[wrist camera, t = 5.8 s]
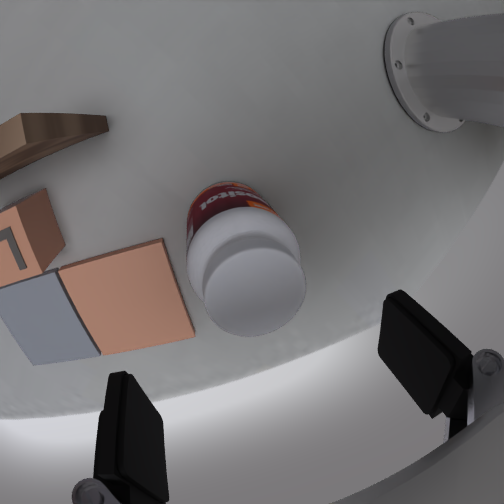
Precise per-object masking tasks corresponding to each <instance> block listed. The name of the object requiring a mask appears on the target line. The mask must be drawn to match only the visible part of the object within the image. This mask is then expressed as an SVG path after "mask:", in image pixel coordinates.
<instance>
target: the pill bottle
mask: <svg viewBox="0 0 504 504" xmlns="http://www.w3.org/2000/svg"><path fill="white" fill-rule="evenodd" d="M186 256H187V259H186V260H187V273H188V278H189V281H190V284H191V286H192V288H193V290H194V291H195V293H196V294H197V296H198V297H199V298H200V299H201V300H202V301H203V302H204V303H205V307H206V310H207V312H208V315H209V316H210V318H211V319H212V321H213V322H214V323H215V324H216V325H217V326H218V327H220V328H221V329H223V330H224V331H226V332H228V333H231V334H234V335H238V336H247V337H250V336H260V335H264V334H267V333H270V332H272V331H275V330H277V329H278V328H280V327H282V326H283V325H285V324H286V323H287V322H288V321H289V320H291V319H292V317H293V316H294V315H295V314H296V313H297V311H298V310H299V308H300V307H301V305H302V302H303V300H304V297H305V293H306V279H305V275H304V272H303V270H302V268H301V266H300V263H301V257H300V249H299V245H298V242H297V239H296V237H295V235H294V233H293V232H292V230H291V229H290V227H289V226H288V225H287V224H286V223H285V222H284V221H283V220H282V219H281V218H280V217H279V216H278V214H277V213H276V212H275V211H274V210H273V209H272V208H271V207H270V206H269V205H268V204H267V203H266V202H265V201H264V200H263V199H262V197H261V196H260V195H259V194H258V193H257V192H255V191H254V190H253V189H251V188H250V187H248V186H246V185H244V184H241V183H237V182H221V183H218V184H214V185H212V186H210V187H208V188H206V189H205V190H203V191H202V192H201V193H200V194H199V195H198V196H197V197H196V198H195V200H194V201H193V203H192V205H191V207H190V210H189V213H188V218H187V255H186Z"/></svg>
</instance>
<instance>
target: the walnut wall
mask: <svg viewBox="0 0 504 504" xmlns="http://www.w3.org/2000/svg"><path fill="white" fill-rule="evenodd" d="M108 131H109V129H108V125H107V120H106V116H101V115H87V114H66V113H20V114H18V115H16V116H15V117H13V118H11V119H10V120H8V121H6V122H5V123H3V124H1V125H0V179H2V178H4V177H6V176H7V175H9V174H11V173H13V172H15V171H17V170H19V169H21V168H23V167H25V166H27V165H29V164H31V163H33V162H35V161H37V160H39V159H41V158H43V157H45V156H48V155H50V154H52V153H54V152H57V151H59V150H61V149H64V148H66V147H68V146H71V145H73V144H76V143H78V142H81V141H83V140H86V139H88V138H91V137H94V136H96V135H99V134H102V133H105V132H108Z"/></svg>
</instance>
